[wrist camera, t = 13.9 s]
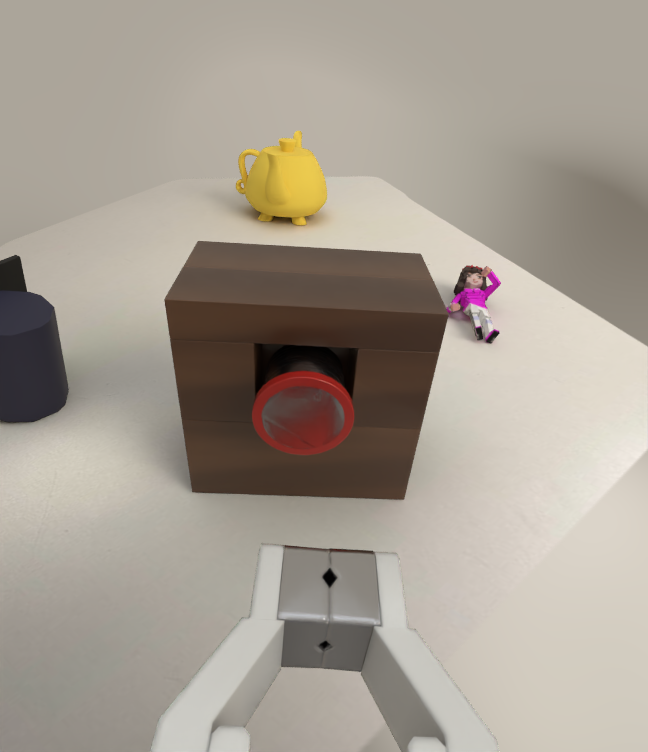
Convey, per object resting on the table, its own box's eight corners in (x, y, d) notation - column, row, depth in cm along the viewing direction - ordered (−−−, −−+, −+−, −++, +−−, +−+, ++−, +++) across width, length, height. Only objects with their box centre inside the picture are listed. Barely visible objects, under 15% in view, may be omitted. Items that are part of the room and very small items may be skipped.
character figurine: (506, 352, 50) (484, 289, 59) (521, 311, 47) (495, 251, 55) (451, 349, 50) (437, 287, 59) (462, 308, 47) (445, 249, 56)
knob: (349, 457, 26) (359, 379, 23) (252, 453, 26) (250, 375, 23) (346, 410, 29) (354, 336, 26) (260, 406, 29) (258, 331, 26)
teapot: (253, 194, 88) (251, 124, 81) (333, 203, 86) (338, 132, 80) (216, 229, 72) (211, 145, 65) (314, 241, 70) (319, 156, 64)
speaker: (-36, 388, 38) (-80, 268, 32) (40, 363, 42) (15, 252, 36) (5, 443, 35) (-35, 321, 28) (84, 411, 38) (64, 296, 32)
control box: (404, 499, 32) (449, 313, 24) (192, 492, 31) (163, 298, 23) (389, 420, 39) (421, 253, 30) (213, 413, 38) (197, 240, 30)
